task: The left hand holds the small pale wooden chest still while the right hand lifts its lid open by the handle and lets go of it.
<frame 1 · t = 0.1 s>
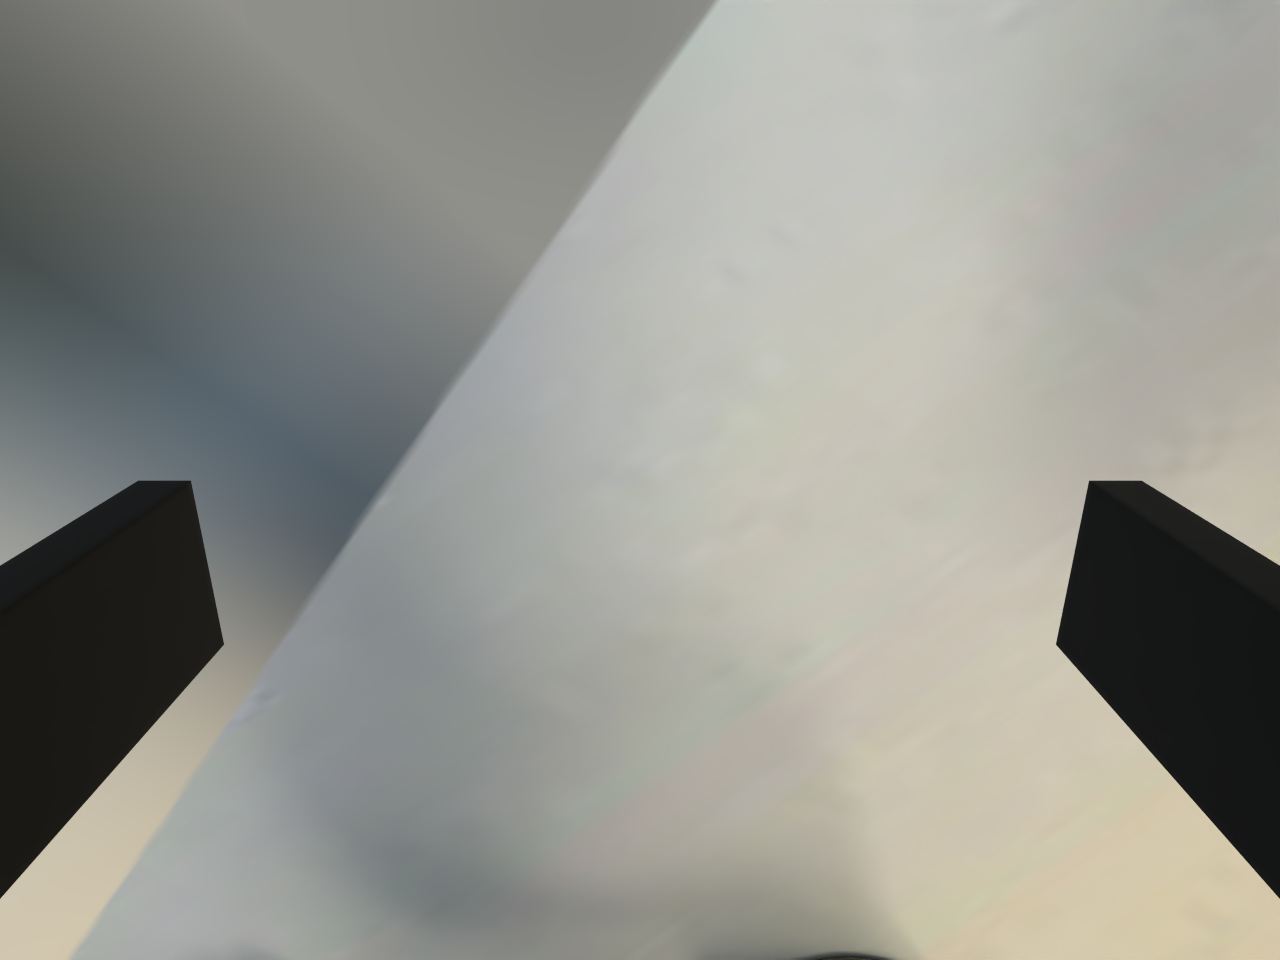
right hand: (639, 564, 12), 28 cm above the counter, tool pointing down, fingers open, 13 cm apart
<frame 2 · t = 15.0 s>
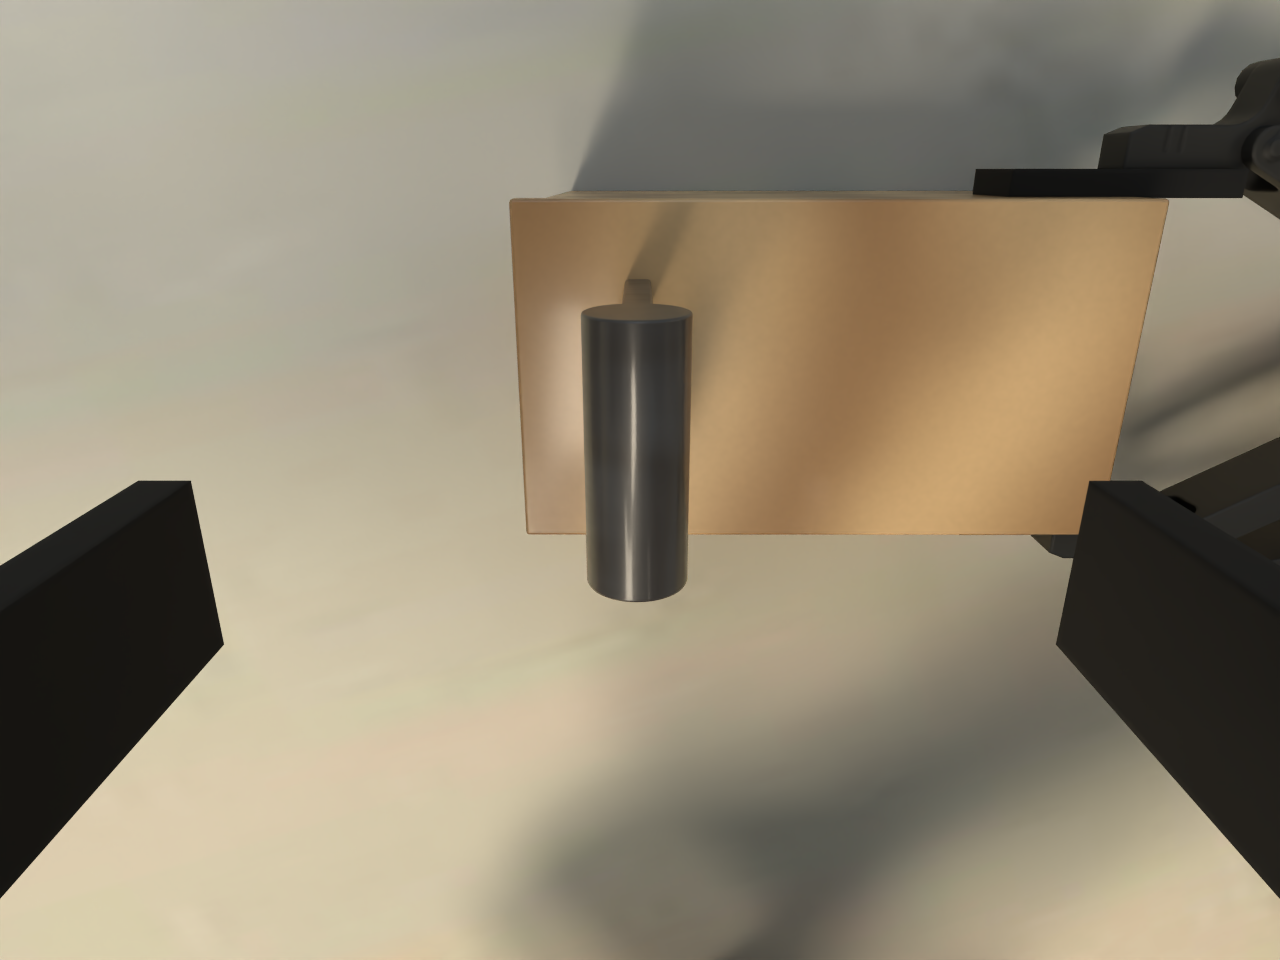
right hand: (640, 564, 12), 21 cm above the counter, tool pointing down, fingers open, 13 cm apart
lid: (854, 412, 20), point 13 cm above the counter, hinge at 0.0°
chest: (784, 321, 32), on the counter, touching left hand
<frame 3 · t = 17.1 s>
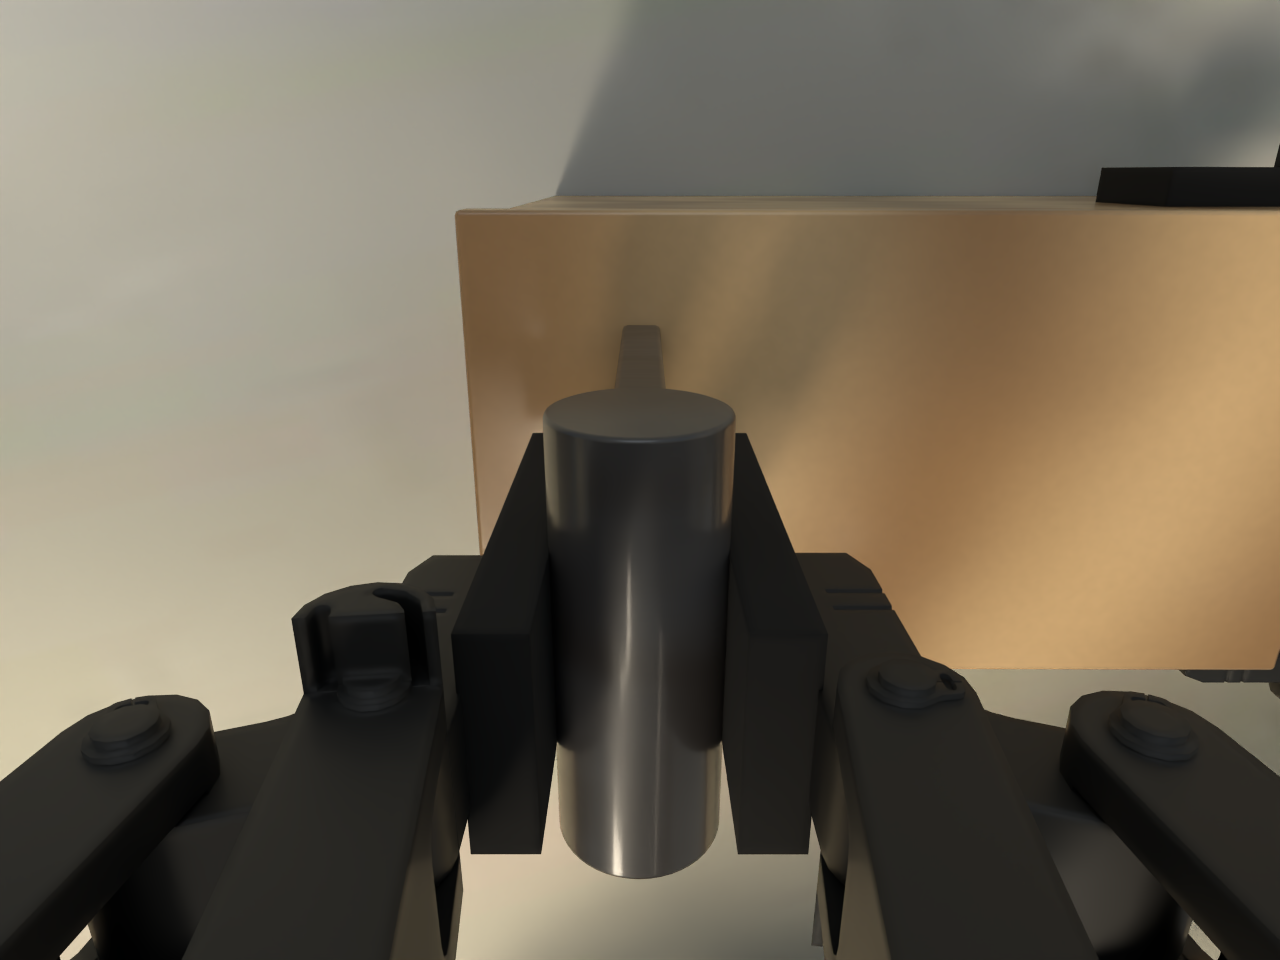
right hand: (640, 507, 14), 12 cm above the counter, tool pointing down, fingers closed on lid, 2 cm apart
lid: (967, 533, 13), point 13 cm above the counter, hinge at -0.1°, touching right hand
chest: (826, 361, 25), on the counter, touching left hand
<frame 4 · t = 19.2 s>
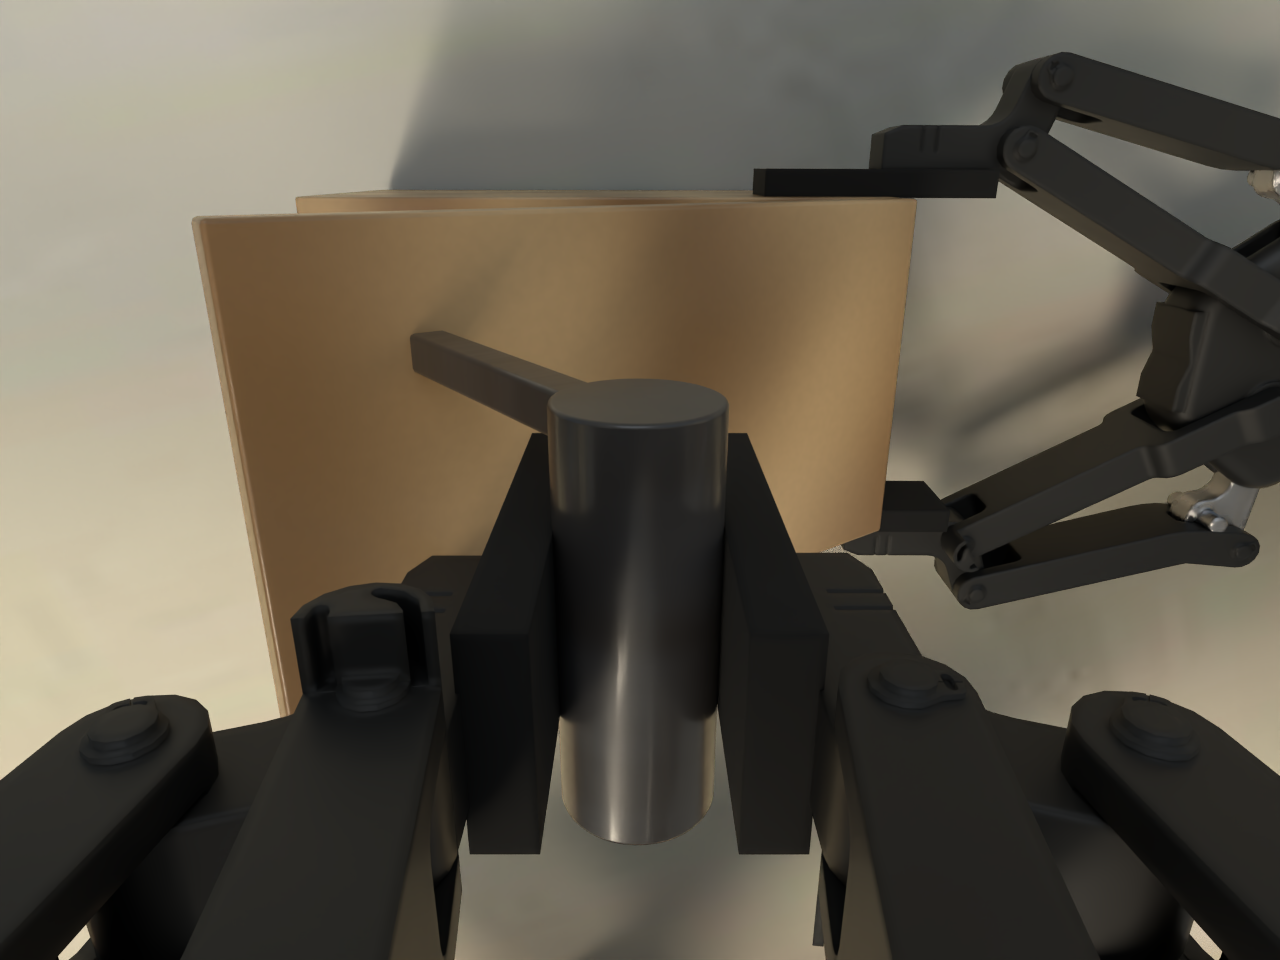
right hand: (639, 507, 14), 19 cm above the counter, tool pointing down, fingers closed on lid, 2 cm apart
left hand: (750, 354, 26), fingers closed on chest, 10 cm apart
lid: (762, 469, 16), point 17 cm above the counter, hinge at 34.9°, touching right hand
chest: (607, 320, 32), on the counter, touching left hand
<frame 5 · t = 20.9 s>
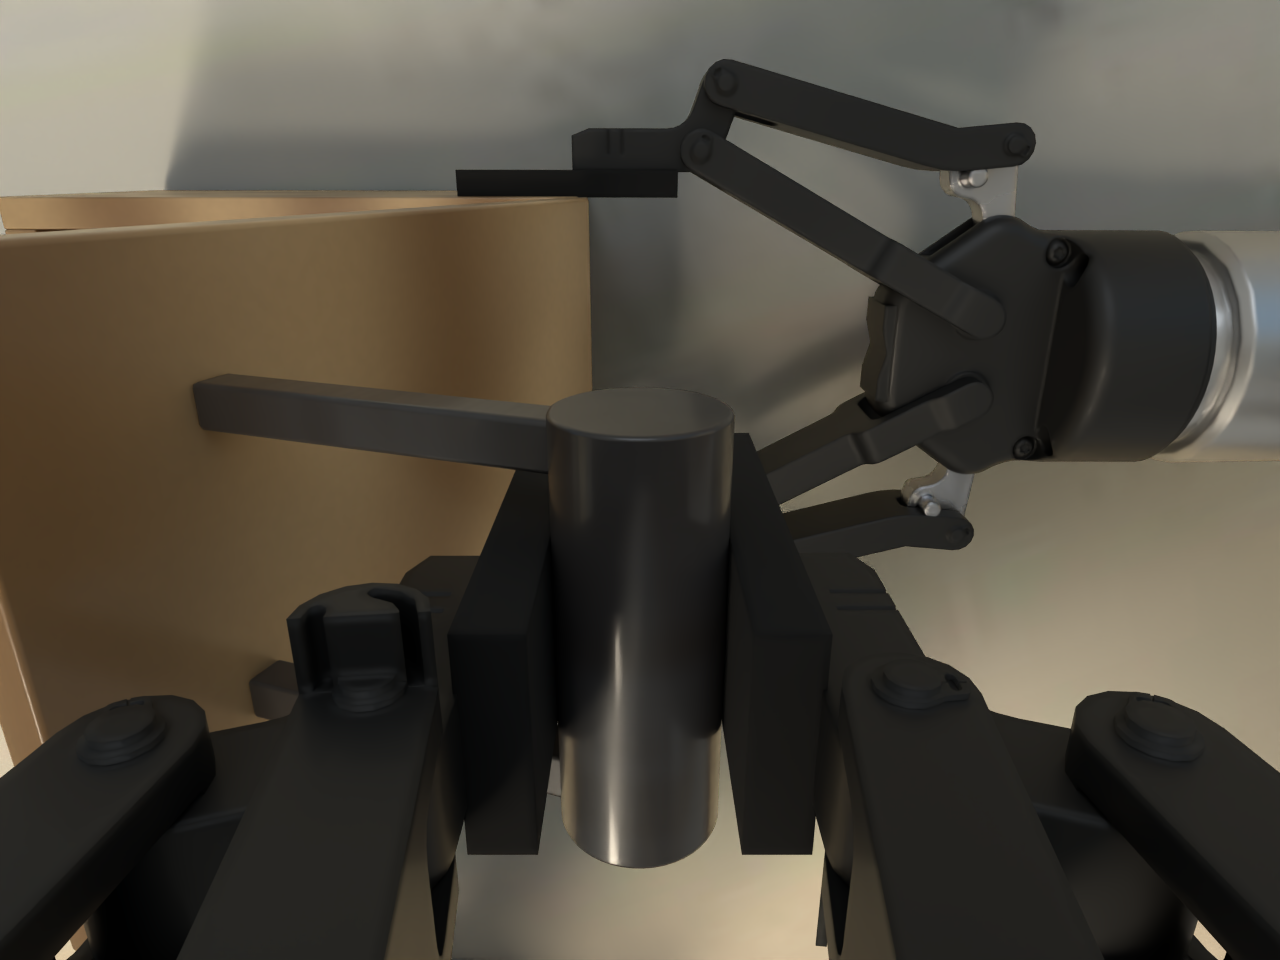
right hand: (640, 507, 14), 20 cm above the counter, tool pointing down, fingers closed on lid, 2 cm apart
left hand: (476, 347, 27), fingers closed on chest, 10 cm apart
lid: (581, 470, 16), point 18 cm above the counter, hinge at 68.7°, touching right hand
chest: (386, 316, 33), on the counter, touching left hand
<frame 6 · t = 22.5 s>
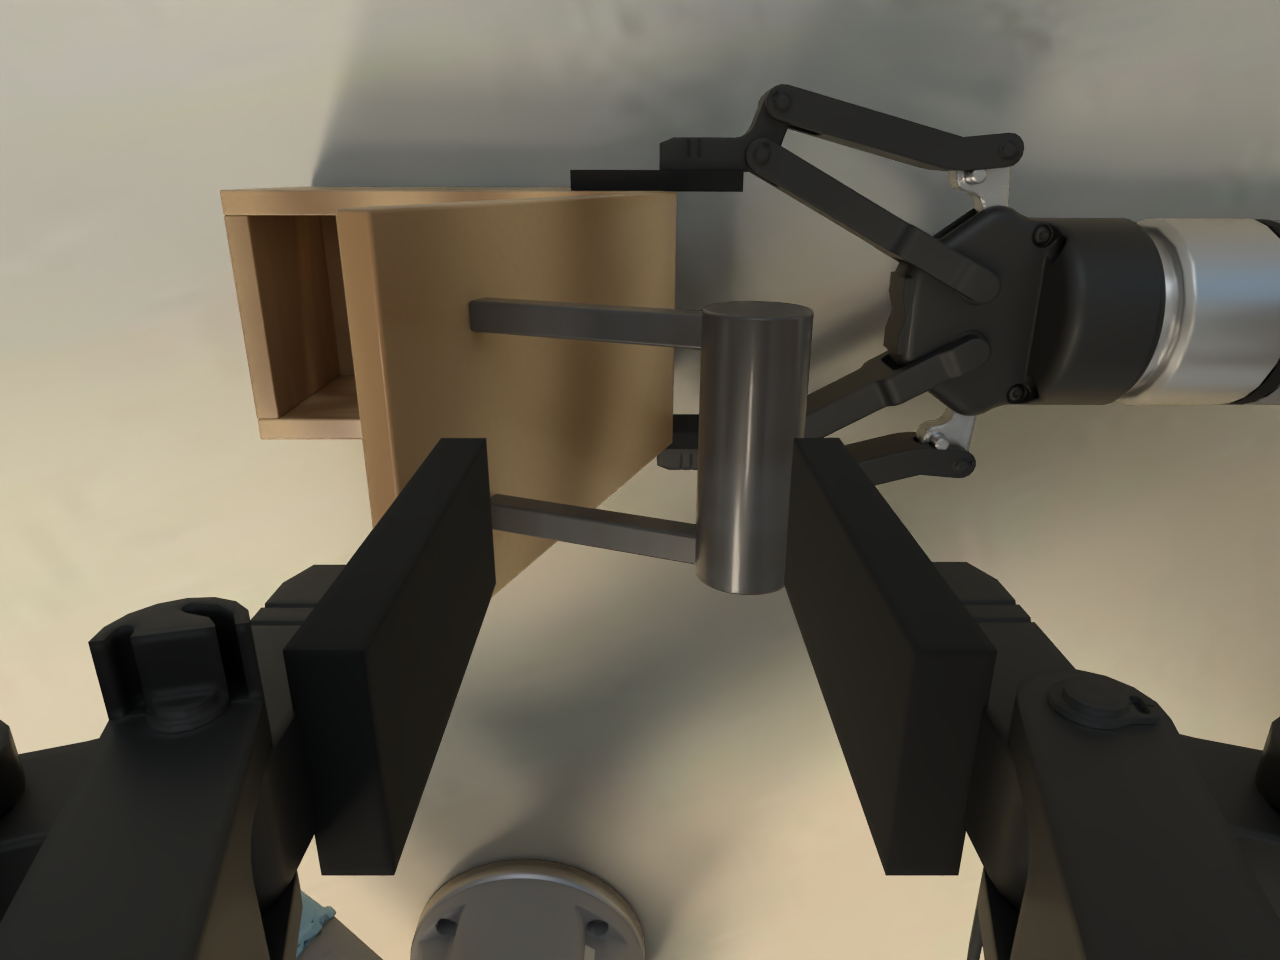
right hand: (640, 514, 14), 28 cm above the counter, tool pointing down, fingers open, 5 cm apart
left hand: (576, 312, 34), fingers closed on chest, 10 cm apart
lid: (688, 380, 23), point 19 cm above the counter, hinge at 67.5°
chest: (488, 291, 40), on the counter, touching left hand
when the left hand's fingers open (7 cm above the counter, at t = 25.0 s): chest stays where it is, on the counter.
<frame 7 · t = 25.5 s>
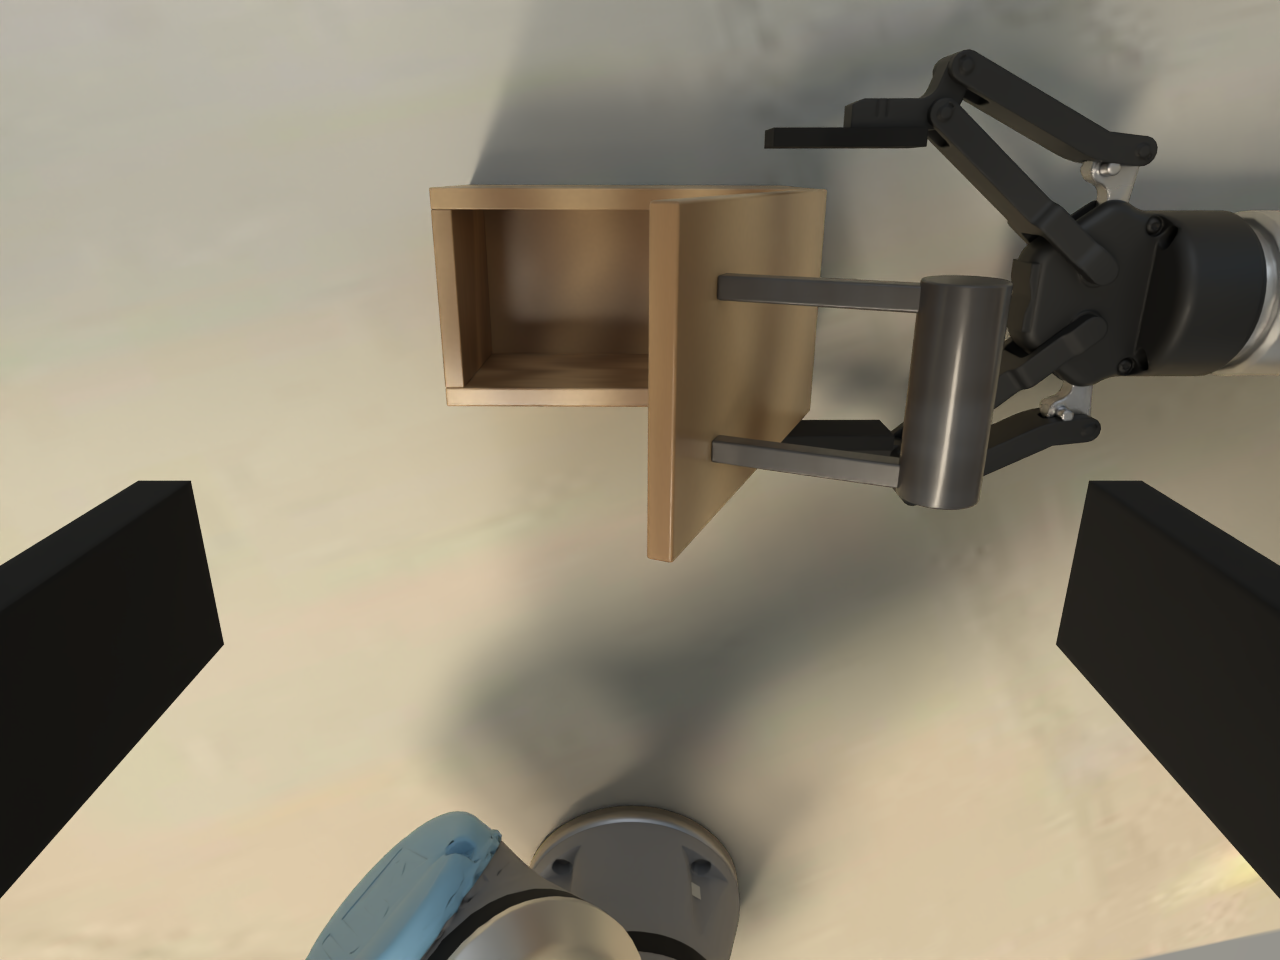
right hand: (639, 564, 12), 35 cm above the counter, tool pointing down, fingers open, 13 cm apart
left hand: (760, 295, 39), fingers open, 13 cm apart
lid: (864, 347, 27), point 19 cm above the counter, hinge at 66.5°
chest: (626, 278, 45), on the counter
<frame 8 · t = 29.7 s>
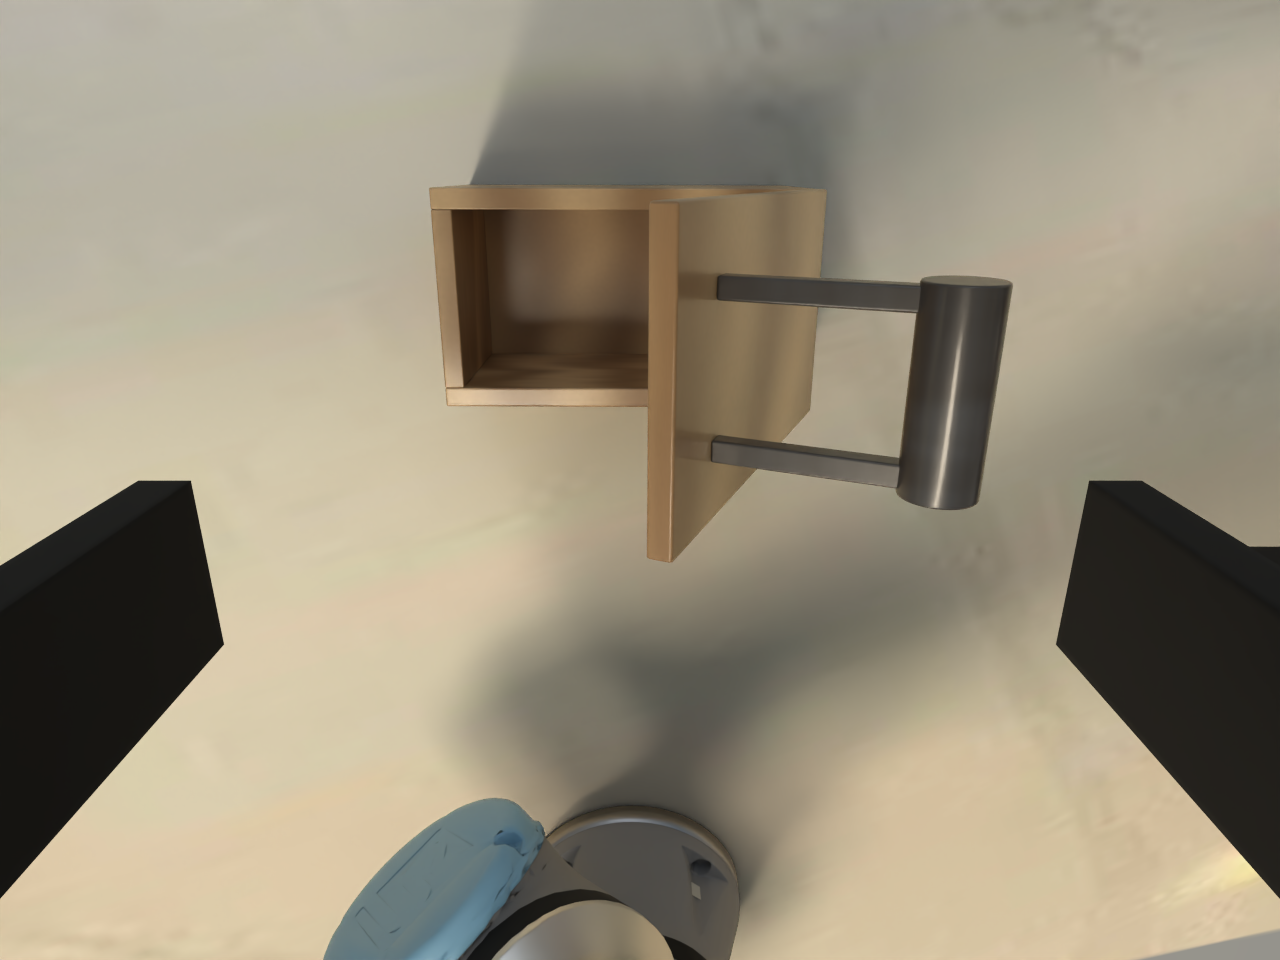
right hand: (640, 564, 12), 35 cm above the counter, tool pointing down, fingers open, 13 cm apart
lid: (864, 347, 27), point 19 cm above the counter, hinge at 66.5°
chest: (626, 278, 45), on the counter
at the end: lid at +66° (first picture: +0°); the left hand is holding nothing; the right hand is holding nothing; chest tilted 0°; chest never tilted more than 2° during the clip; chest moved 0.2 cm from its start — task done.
